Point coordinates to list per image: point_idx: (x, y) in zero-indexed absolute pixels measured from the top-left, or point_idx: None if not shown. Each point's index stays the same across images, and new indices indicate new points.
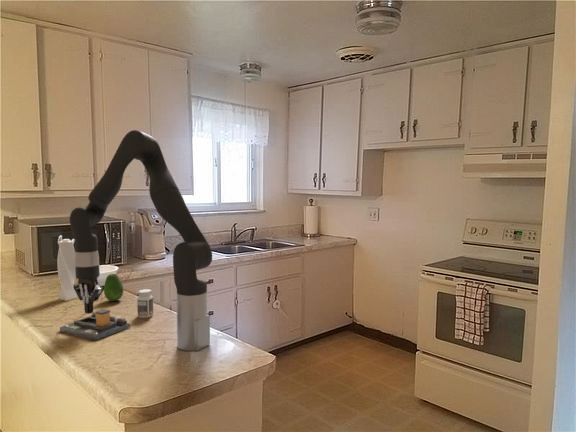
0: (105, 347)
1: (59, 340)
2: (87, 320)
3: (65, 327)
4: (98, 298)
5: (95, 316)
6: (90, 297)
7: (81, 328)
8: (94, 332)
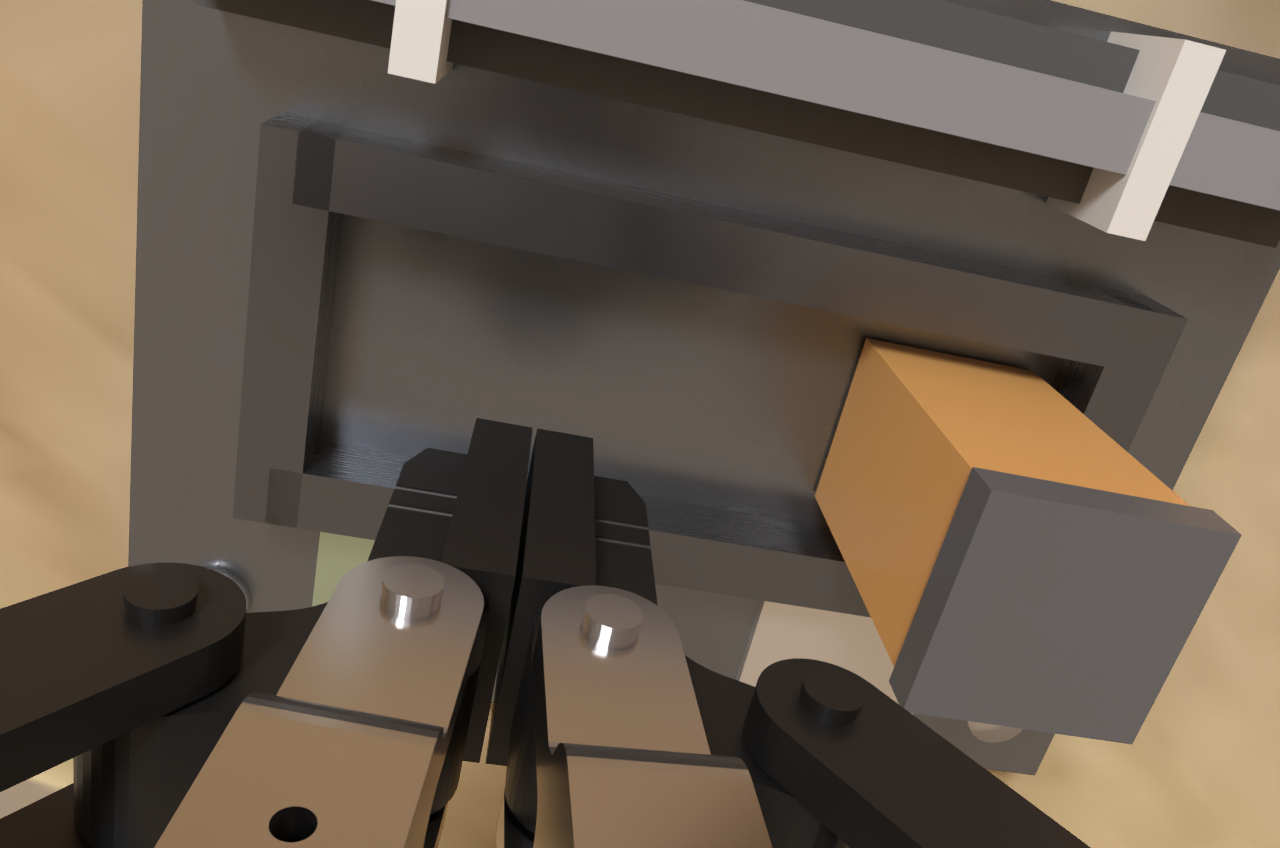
0: (1255, 828)
1: (493, 838)
2: (337, 241)
3: None
4: (951, 745)
5: (380, 45)
6: (463, 687)
7: None
8: None
